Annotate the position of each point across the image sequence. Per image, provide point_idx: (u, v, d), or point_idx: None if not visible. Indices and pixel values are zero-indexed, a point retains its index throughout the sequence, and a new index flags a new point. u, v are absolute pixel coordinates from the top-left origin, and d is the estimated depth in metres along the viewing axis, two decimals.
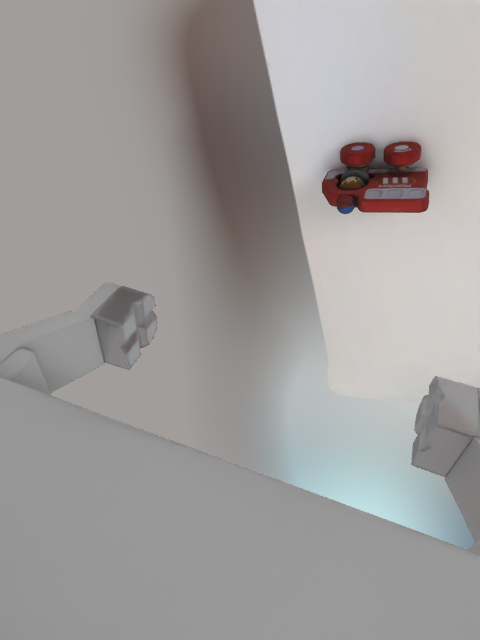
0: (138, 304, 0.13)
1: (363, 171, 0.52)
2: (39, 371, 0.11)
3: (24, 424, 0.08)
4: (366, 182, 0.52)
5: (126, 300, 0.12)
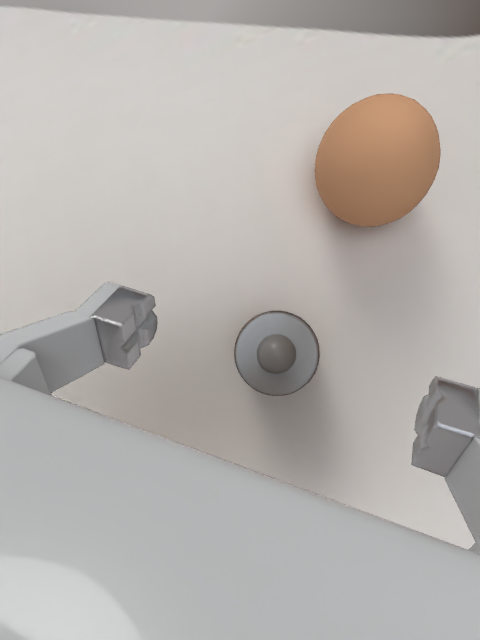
0: (138, 304, 0.13)
1: None
2: (39, 370, 0.11)
3: (24, 424, 0.08)
4: None
5: (126, 300, 0.12)
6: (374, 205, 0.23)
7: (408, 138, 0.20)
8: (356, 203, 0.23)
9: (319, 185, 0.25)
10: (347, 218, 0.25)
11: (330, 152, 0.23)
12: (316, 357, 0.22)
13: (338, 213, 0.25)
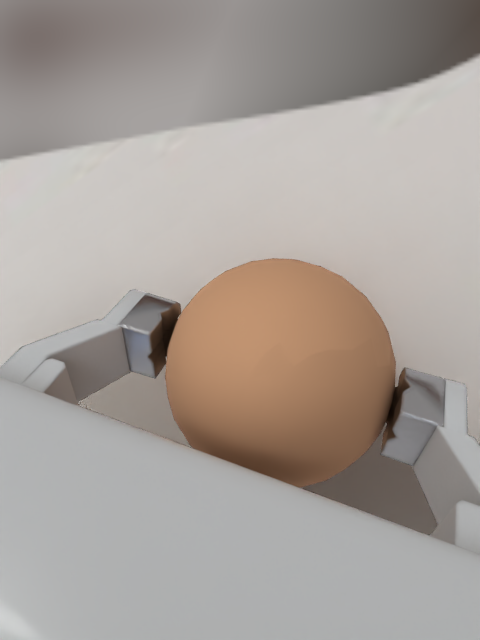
0: (165, 312, 0.12)
1: None
2: (69, 381, 0.11)
3: (24, 424, 0.08)
4: None
5: (153, 308, 0.12)
6: None
7: (285, 400, 0.09)
8: None
9: None
10: None
11: (169, 398, 0.12)
12: None
13: None
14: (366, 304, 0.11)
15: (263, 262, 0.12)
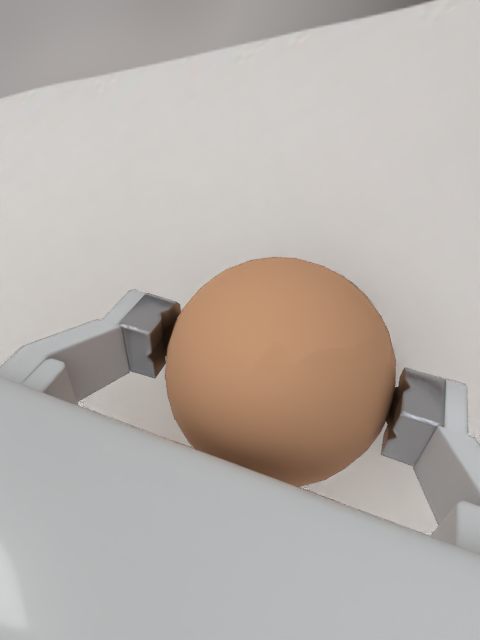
0: (165, 312, 0.12)
1: None
2: (68, 381, 0.11)
3: (24, 424, 0.08)
4: None
5: (153, 308, 0.12)
6: None
7: (286, 399, 0.09)
8: None
9: None
10: None
11: (168, 397, 0.12)
12: None
13: None
14: (366, 303, 0.11)
15: (263, 261, 0.12)
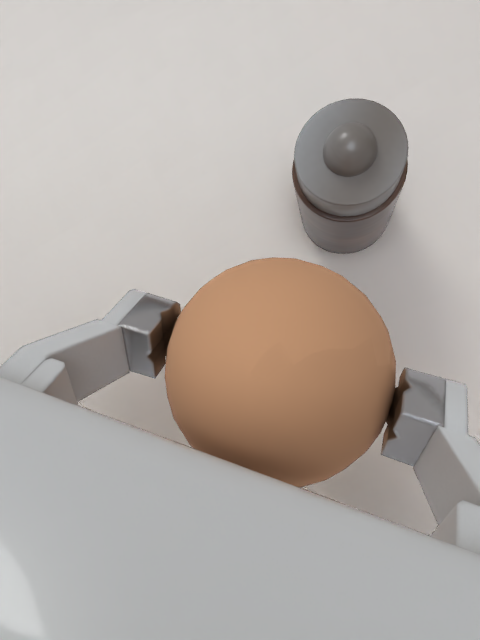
0: (164, 312, 0.12)
1: None
2: (68, 381, 0.11)
3: (24, 424, 0.08)
4: None
5: (153, 308, 0.12)
6: None
7: (285, 399, 0.09)
8: None
9: None
10: None
11: (168, 397, 0.12)
12: (405, 140, 0.16)
13: None
14: (366, 303, 0.11)
15: (263, 261, 0.12)
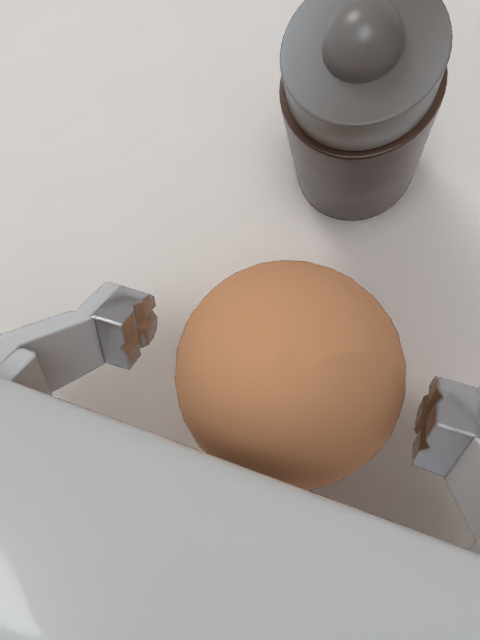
0: (138, 304, 0.13)
1: None
2: (39, 370, 0.11)
3: (24, 424, 0.08)
4: None
5: (126, 300, 0.12)
6: None
7: (299, 403, 0.09)
8: None
9: None
10: None
11: None
12: (448, 24, 0.11)
13: None
14: (376, 306, 0.11)
15: (273, 264, 0.12)
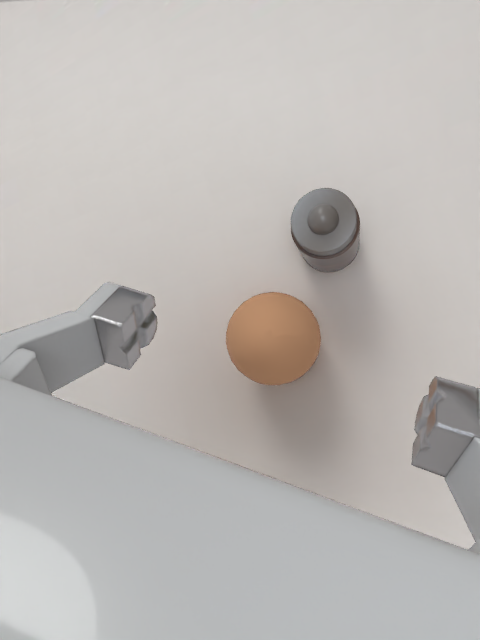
0: (138, 304, 0.13)
1: None
2: (39, 370, 0.11)
3: (24, 424, 0.08)
4: None
5: (126, 300, 0.12)
6: (262, 381, 0.30)
7: (269, 348, 0.27)
8: (250, 377, 0.30)
9: None
10: None
11: (227, 341, 0.30)
12: (355, 220, 0.28)
13: None
14: (309, 319, 0.29)
15: (273, 295, 0.30)
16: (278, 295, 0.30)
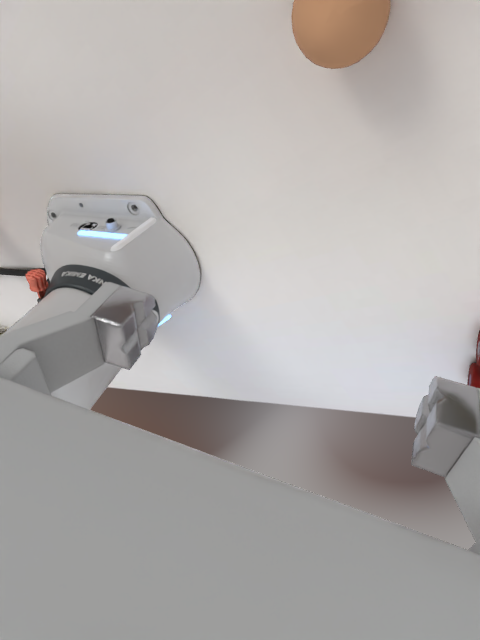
0: (138, 304, 0.13)
1: None
2: (40, 370, 0.11)
3: (24, 424, 0.08)
4: None
5: (126, 300, 0.12)
6: (340, 65, 0.31)
7: (338, 29, 0.28)
8: (328, 67, 0.32)
9: None
10: None
11: (296, 39, 0.31)
12: None
13: None
14: None
15: None
16: None
